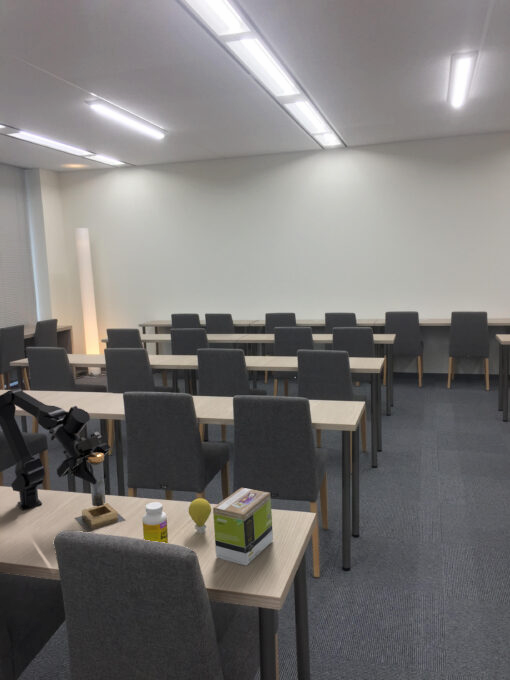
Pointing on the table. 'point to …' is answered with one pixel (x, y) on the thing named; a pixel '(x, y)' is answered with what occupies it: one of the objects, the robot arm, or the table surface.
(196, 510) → the light bulb
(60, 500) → the table surface
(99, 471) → the copper capped grey cylinder
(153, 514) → the supplement bottle
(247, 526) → the tea box
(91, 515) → the tan square base
